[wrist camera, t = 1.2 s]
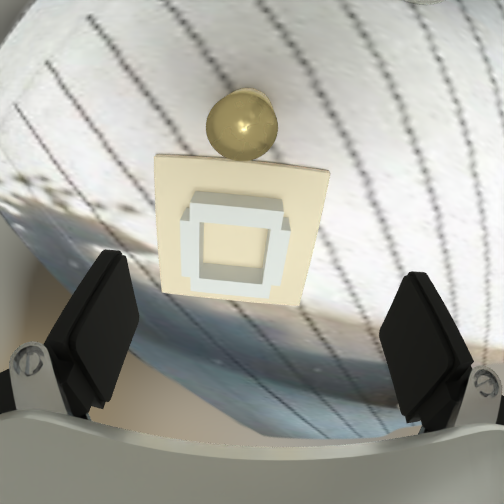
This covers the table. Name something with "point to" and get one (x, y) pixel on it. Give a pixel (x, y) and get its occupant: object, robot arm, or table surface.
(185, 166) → the sleeve block
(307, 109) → the table surface
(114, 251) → the robot arm
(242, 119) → the cylinder
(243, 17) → the table surface
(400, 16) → the table surface
